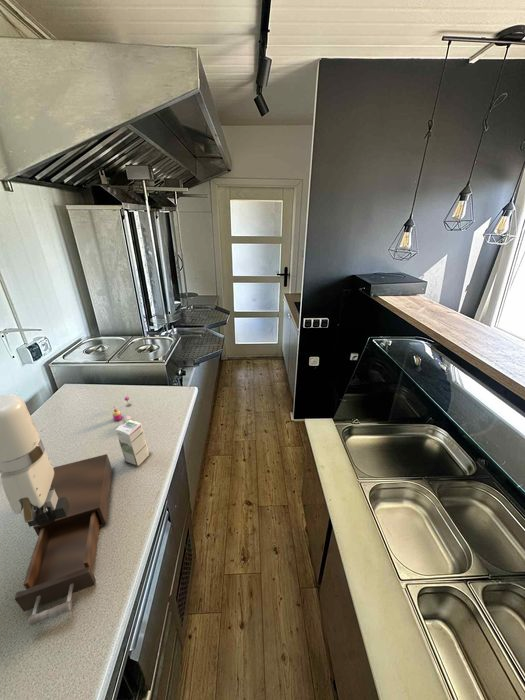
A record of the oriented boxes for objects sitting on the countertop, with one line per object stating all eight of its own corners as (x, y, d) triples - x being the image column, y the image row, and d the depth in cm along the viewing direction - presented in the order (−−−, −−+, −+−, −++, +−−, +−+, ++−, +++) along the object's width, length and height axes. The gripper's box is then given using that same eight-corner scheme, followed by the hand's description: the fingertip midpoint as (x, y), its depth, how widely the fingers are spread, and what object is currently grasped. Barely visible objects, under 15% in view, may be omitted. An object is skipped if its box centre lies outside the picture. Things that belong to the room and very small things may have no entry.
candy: (141, 425, 113) (138, 413, 111) (119, 434, 109) (115, 421, 106) (130, 403, 126) (127, 392, 124) (110, 410, 122) (107, 398, 120)
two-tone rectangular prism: (29, 527, 62) (19, 509, 59) (34, 514, 65) (24, 496, 62) (66, 516, 64) (58, 498, 62) (69, 504, 67) (62, 487, 64)
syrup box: (150, 454, 100) (142, 422, 93) (137, 467, 95) (128, 433, 89) (137, 450, 102) (128, 417, 95) (124, 462, 97) (114, 429, 90)
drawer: (91, 611, 60) (84, 598, 58) (14, 642, 56) (3, 629, 53) (104, 512, 80) (99, 499, 77) (48, 529, 76) (41, 516, 73)
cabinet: (106, 524, 78) (99, 507, 74) (42, 544, 73) (32, 527, 70) (112, 469, 94) (107, 453, 91) (61, 483, 89) (53, 467, 86)
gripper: (13, 431, 62) (41, 489, 70) (-25, 494, 48) (15, 557, 56) (53, 423, 64) (76, 480, 72) (28, 481, 51) (60, 544, 59)
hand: (49, 513), depth 64 cm, fingers closed on two-tone rectangular prism, 3 cm apart
